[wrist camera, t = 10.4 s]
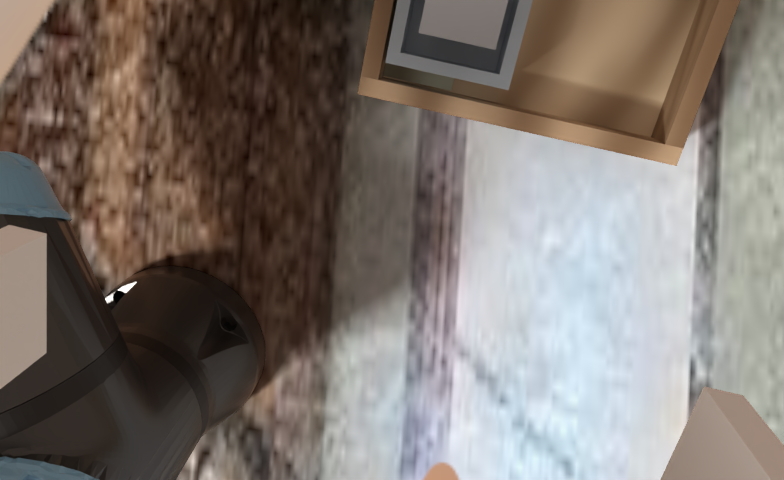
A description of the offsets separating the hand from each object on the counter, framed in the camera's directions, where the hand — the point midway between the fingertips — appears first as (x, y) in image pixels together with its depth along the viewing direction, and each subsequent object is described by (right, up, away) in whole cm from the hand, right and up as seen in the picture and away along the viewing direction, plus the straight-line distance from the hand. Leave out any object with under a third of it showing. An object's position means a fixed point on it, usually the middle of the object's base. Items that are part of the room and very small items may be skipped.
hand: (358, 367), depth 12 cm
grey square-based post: (+5, +18, +28) cm, 34 cm away
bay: (+11, +17, +30) cm, 36 cm away
